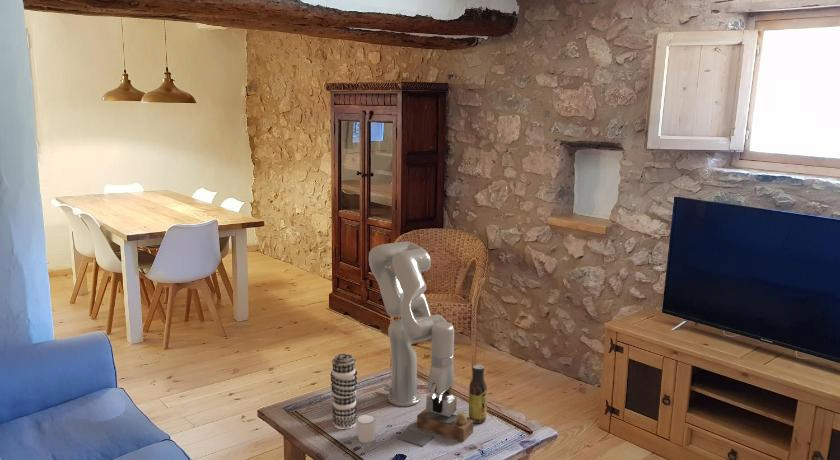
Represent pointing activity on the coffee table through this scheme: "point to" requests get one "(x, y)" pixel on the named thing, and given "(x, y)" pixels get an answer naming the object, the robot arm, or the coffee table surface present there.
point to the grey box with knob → (443, 404)
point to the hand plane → (446, 424)
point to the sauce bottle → (478, 396)
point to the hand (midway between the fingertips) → (441, 407)
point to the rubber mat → (415, 437)
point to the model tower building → (344, 391)
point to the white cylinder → (366, 427)
